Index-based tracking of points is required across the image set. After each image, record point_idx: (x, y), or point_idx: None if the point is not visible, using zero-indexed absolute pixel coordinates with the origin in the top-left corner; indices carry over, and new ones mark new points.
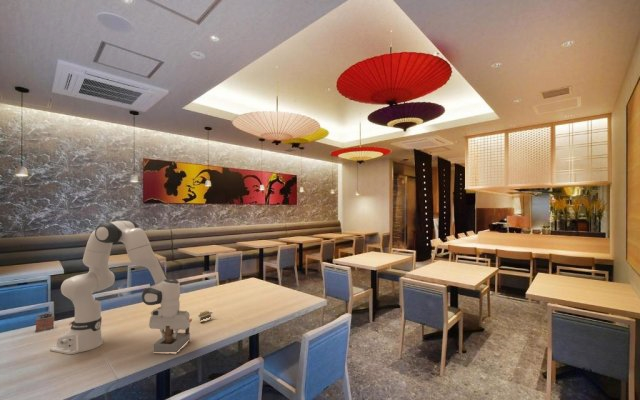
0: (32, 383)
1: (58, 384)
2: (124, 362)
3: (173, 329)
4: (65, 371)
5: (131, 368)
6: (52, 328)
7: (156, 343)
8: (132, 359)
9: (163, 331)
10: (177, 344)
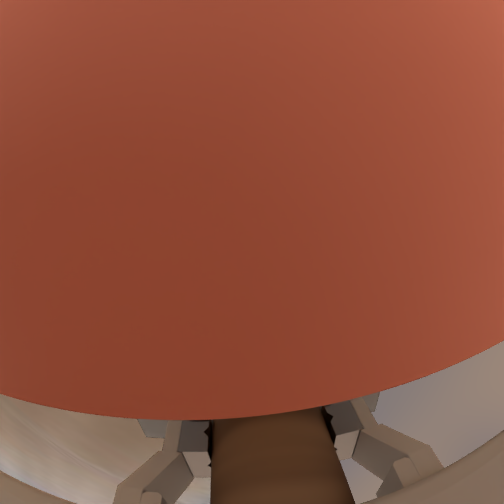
0: (25, 481)
1: (73, 500)
2: (102, 448)
3: (351, 494)
4: (14, 457)
5: None
6: None
7: (164, 432)
8: (107, 431)
9: (168, 484)
10: (375, 394)
